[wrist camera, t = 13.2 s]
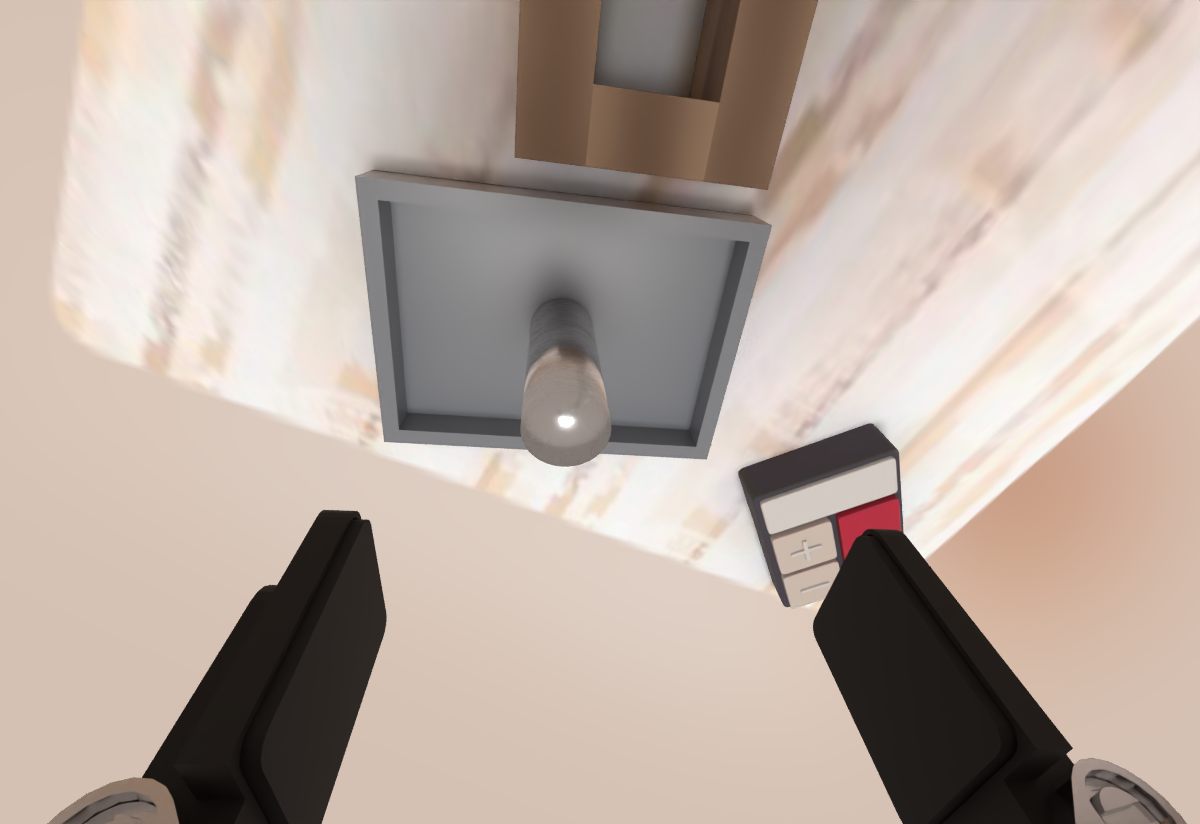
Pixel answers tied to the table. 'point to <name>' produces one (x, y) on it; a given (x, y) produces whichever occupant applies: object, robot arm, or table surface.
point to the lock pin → (564, 387)
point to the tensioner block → (657, 121)
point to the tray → (536, 275)
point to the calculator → (821, 507)
